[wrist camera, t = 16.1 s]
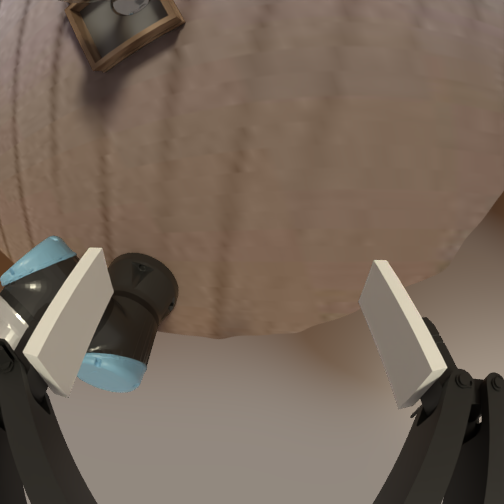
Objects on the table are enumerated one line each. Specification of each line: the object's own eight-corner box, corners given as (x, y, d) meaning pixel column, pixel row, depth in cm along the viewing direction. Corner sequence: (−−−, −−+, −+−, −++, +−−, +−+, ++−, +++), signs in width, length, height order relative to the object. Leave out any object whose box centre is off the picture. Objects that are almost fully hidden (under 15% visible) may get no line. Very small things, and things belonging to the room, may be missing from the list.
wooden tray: (105, 72, 32) (85, 73, 27) (68, -5, 22) (48, -10, 17) (185, 22, 29) (174, 13, 24) (140, -54, 19) (126, -67, 14)
